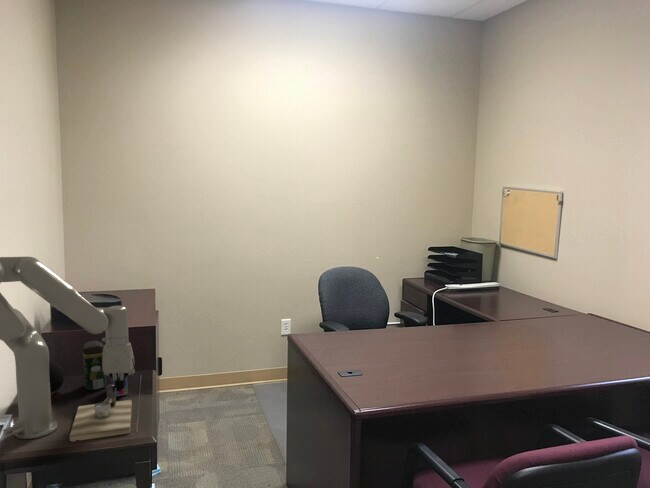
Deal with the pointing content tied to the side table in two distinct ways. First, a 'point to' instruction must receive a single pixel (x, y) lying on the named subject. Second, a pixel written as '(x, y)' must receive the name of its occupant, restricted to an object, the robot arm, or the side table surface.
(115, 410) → the birch stand
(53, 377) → the black half-round shape
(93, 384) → the coffee jar
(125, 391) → the ink cartridge box
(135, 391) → the side table surface
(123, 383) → the robot arm
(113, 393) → the crank dial
